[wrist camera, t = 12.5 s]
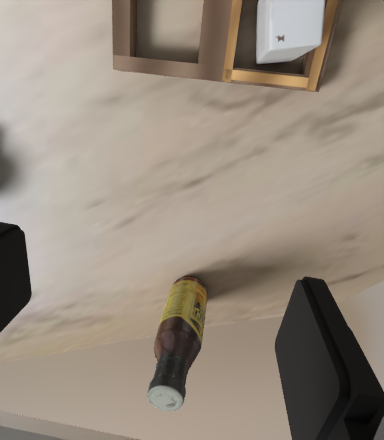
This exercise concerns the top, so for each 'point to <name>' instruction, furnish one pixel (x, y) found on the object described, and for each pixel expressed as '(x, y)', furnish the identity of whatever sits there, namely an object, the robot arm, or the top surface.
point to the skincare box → (288, 29)
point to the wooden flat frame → (219, 49)
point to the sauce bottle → (177, 342)
